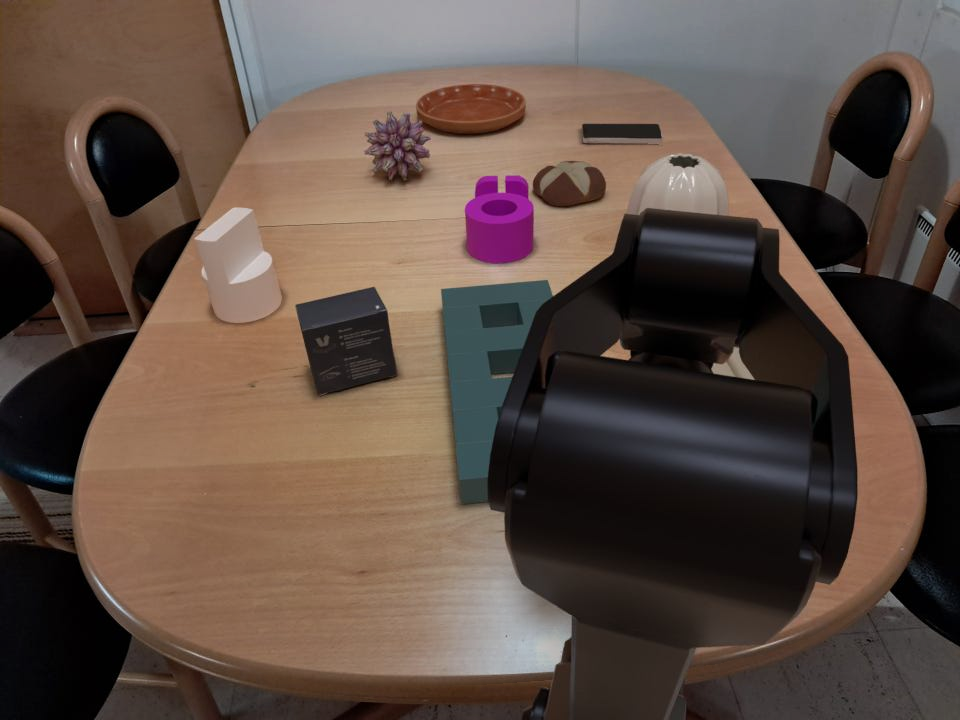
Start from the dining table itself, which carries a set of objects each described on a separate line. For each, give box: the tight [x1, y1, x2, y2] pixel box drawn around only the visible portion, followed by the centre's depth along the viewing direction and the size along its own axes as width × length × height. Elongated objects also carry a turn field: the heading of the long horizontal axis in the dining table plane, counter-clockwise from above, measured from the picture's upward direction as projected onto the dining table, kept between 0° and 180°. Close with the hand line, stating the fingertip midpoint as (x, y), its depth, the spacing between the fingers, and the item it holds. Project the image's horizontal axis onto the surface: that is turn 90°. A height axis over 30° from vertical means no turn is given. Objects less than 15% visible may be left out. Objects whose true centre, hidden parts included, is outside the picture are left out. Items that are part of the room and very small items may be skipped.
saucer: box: [415, 83, 527, 135], centre depth 145 cm, size 23×23×4 cm
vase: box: [625, 152, 730, 216], centre depth 97 cm, size 14×14×13 cm
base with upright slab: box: [194, 207, 283, 324], centre depth 90 cm, size 9×9×12 cm
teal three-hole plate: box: [440, 279, 554, 505], centre depth 77 cm, size 32×14×4 cm, turn 5°
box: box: [294, 286, 398, 397], centre depth 78 cm, size 9×6×10 cm, turn 110°
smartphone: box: [581, 123, 664, 145], centre depth 135 cm, size 8×1×15 cm
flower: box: [363, 109, 432, 182], centre depth 121 cm, size 12×12×12 cm
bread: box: [532, 160, 607, 207], centre depth 115 cm, size 11×11×5 cm
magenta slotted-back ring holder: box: [464, 174, 535, 264], centre depth 104 cm, size 16×10×6 cm, turn 177°
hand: (636, 563), depth 57 cm, fingers open, 4 cm apart
